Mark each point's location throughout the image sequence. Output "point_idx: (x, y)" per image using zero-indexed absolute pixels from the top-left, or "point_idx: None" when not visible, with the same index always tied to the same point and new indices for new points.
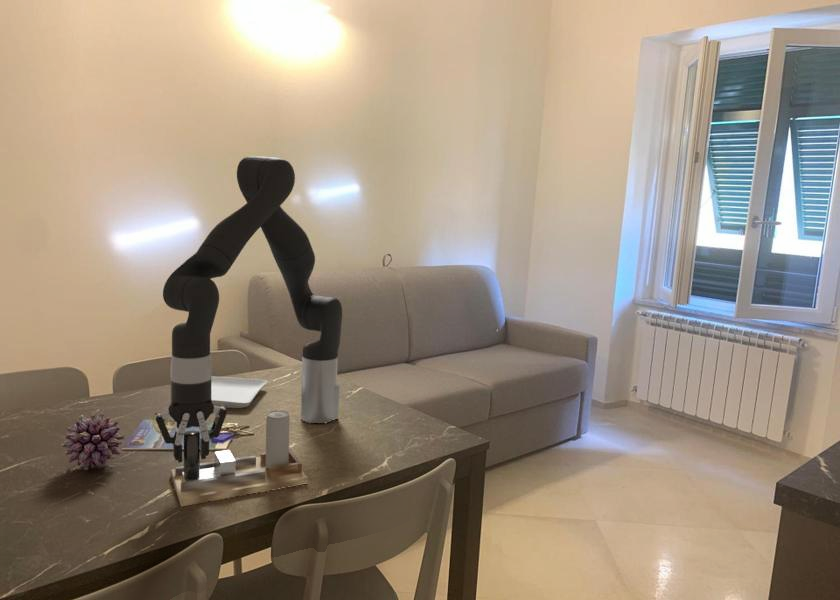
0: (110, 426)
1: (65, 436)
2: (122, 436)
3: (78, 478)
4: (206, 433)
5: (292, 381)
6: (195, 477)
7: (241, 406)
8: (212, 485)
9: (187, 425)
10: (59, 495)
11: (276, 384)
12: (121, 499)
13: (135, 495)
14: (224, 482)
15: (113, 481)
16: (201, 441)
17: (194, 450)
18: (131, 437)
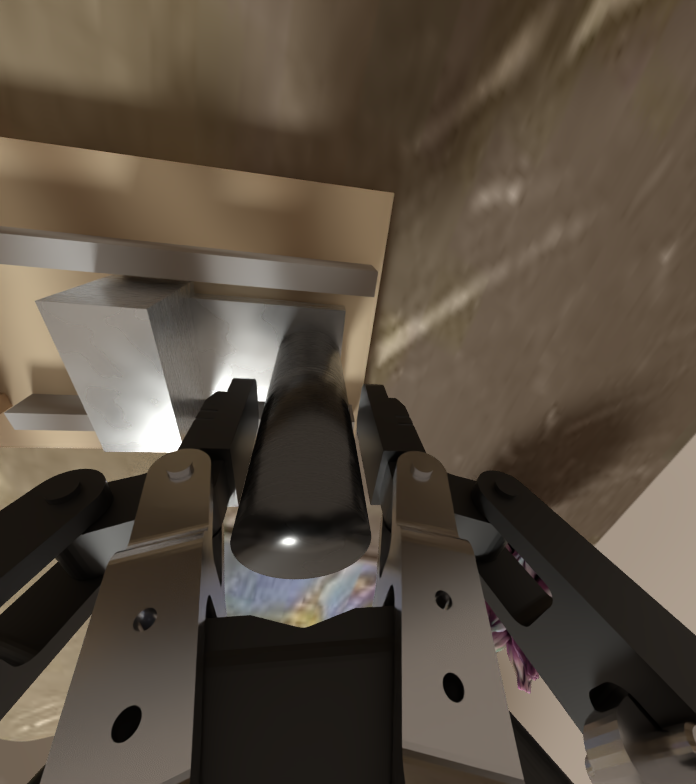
0: (497, 635)
1: None
2: None
3: (532, 487)
4: (158, 516)
5: (25, 711)
6: (299, 331)
7: None
8: (233, 251)
9: (369, 651)
10: (608, 430)
11: (62, 704)
12: (519, 353)
13: (477, 361)
14: (169, 246)
15: (483, 454)
16: (234, 469)
17: (297, 408)
18: (373, 595)
